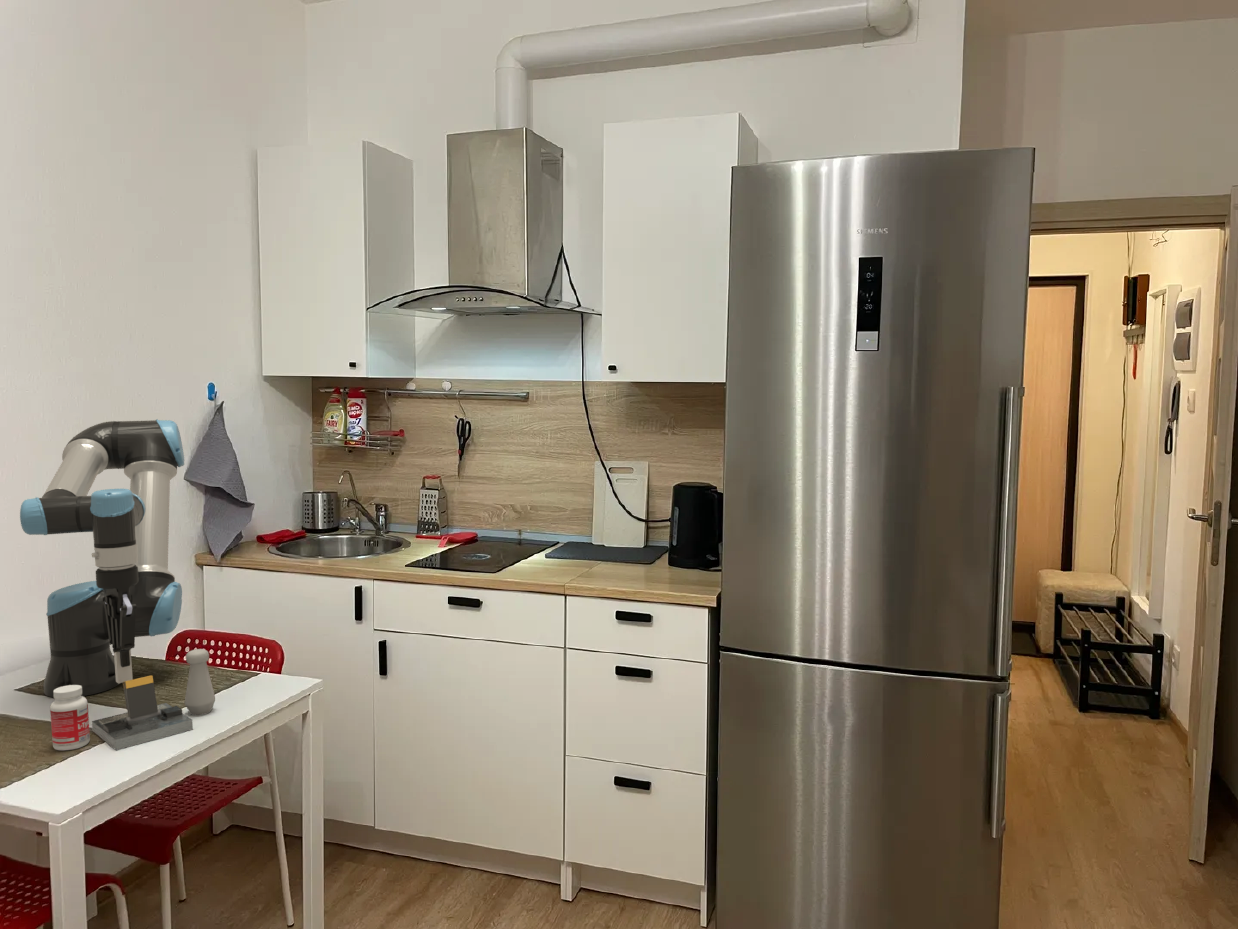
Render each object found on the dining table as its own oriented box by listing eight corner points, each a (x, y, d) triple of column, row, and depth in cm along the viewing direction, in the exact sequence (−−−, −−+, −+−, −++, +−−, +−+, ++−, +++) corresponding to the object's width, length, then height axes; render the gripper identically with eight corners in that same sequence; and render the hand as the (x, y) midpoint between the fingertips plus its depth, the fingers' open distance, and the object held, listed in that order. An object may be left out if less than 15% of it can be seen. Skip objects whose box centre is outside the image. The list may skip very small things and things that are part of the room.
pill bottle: (84, 749, 177) (80, 692, 176) (48, 753, 176) (43, 695, 174) (94, 737, 183) (90, 681, 182) (59, 740, 182) (55, 684, 181)
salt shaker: (204, 717, 193) (200, 655, 191) (179, 716, 194) (175, 654, 193) (221, 707, 198) (218, 647, 197) (197, 706, 200) (193, 646, 198)
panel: (92, 731, 186) (91, 716, 186) (166, 712, 196) (165, 698, 196) (116, 750, 176) (115, 734, 176) (192, 729, 186) (191, 714, 186)
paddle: (126, 724, 184) (119, 682, 184) (158, 715, 188) (152, 675, 189) (128, 724, 183) (122, 682, 183) (161, 715, 187) (155, 674, 187)
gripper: (86, 565, 191) (93, 678, 194) (106, 573, 182) (114, 692, 184) (125, 559, 197) (133, 670, 199) (147, 567, 188) (155, 683, 190)
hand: (124, 681), depth 192 cm, fingers closed
